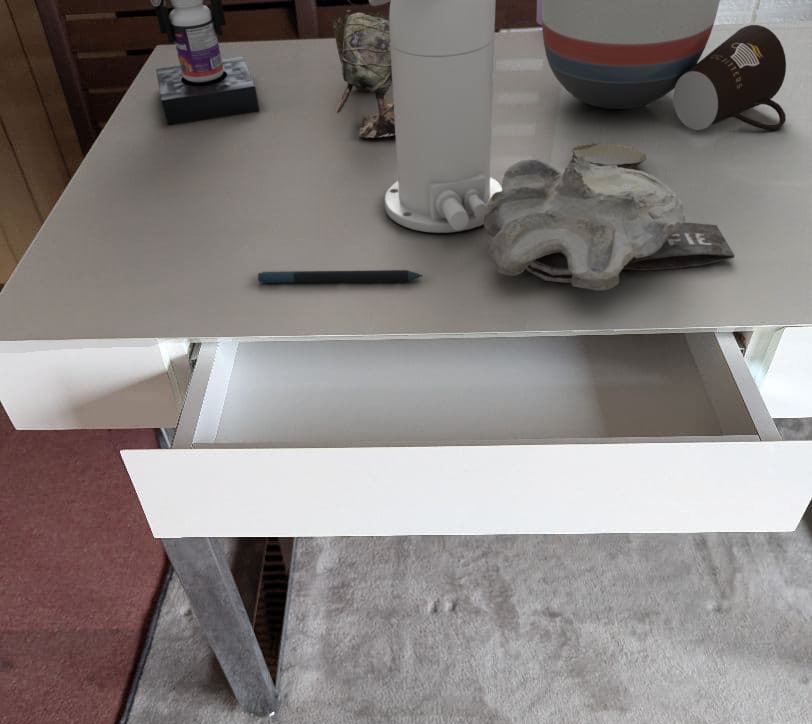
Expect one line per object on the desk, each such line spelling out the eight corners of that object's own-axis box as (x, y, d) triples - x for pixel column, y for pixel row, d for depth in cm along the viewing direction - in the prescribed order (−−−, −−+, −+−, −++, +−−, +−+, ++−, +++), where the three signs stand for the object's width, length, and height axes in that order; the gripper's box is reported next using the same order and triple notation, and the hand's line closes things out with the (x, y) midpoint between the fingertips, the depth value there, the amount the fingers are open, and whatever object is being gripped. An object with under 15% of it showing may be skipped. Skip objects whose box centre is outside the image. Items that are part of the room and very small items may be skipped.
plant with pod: (353, 112, 102) (335, -81, 87) (438, 118, 100) (433, -80, 85) (330, 138, 97) (306, -62, 82) (418, 145, 95) (410, -61, 80)
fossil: (710, 169, 72) (653, 144, 61) (684, 296, 76) (626, 295, 65) (538, 164, 82) (460, 141, 70) (522, 277, 85) (446, 273, 74)
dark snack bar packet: (737, 272, 73) (742, 252, 71) (528, 290, 73) (529, 271, 72) (712, 229, 78) (716, 209, 76) (516, 246, 78) (517, 227, 77)
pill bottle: (179, 73, 106) (158, -13, 99) (217, 65, 107) (200, -20, 100) (189, 86, 103) (168, -2, 96) (229, 77, 104) (211, -10, 97)
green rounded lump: (397, 77, 110) (393, 10, 104) (391, 98, 105) (387, 28, 99) (343, 78, 111) (337, 12, 105) (335, 99, 106) (328, 30, 100)
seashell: (645, 180, 90) (587, 147, 92) (658, 153, 87) (598, 120, 89) (613, 197, 84) (552, 161, 87) (626, 169, 82) (563, 133, 84)
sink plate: (259, 110, 104) (255, 85, 102) (167, 125, 103) (161, 100, 101) (247, 79, 112) (243, 56, 110) (162, 92, 111) (155, 68, 108)
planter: (625, 148, 91) (660, -86, 75) (501, 101, 102) (508, -112, 86) (734, 97, 99) (787, -125, 83) (607, 59, 110) (633, -144, 94)
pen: (423, 280, 75) (423, 269, 75) (422, 282, 74) (422, 271, 74) (260, 281, 76) (259, 270, 76) (258, 284, 76) (256, 272, 75)
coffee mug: (671, 50, 90) (731, 15, 93) (661, 125, 97) (717, 90, 100) (756, 83, 84) (818, 45, 87) (739, 160, 91) (796, 123, 94)
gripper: (74, -136, 84) (128, 55, 98) (235, -154, 87) (265, 35, 100) (75, -147, 89) (126, 36, 103) (227, -164, 92) (257, 18, 105)
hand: (194, 34), depth 102 cm, fingers closed on pill bottle, 5 cm apart
